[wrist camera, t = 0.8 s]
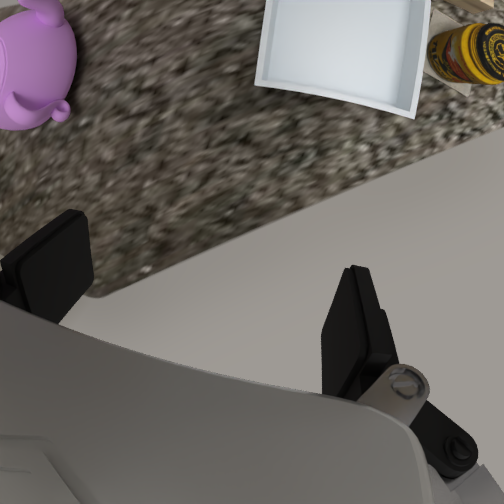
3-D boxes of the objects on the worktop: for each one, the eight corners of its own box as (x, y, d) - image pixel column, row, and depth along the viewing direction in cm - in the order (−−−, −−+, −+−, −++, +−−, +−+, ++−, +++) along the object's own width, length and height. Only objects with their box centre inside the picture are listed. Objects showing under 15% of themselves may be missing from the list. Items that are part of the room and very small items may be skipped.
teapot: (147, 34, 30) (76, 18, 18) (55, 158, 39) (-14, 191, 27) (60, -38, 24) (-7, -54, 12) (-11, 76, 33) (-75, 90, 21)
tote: (284, -73, 21) (281, -95, 16) (416, -44, 20) (432, -60, 15) (261, 86, 31) (254, 85, 27) (397, 114, 31) (414, 119, 26)
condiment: (415, 67, 28) (464, 62, 17) (433, 8, 23) (483, -16, 13) (466, 97, 28) (526, 108, 17) (483, 40, 24) (543, 33, 13)
